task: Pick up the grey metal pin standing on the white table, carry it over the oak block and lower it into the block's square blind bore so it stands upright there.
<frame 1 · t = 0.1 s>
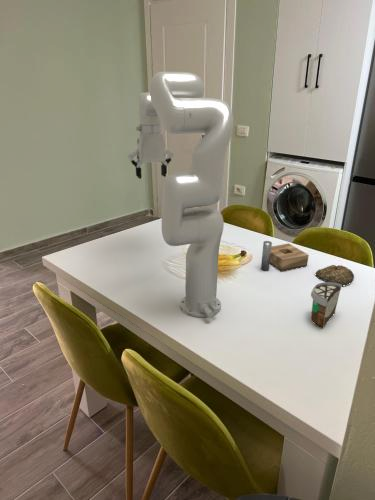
hand: (151, 176, 141), 31 cm above the table, tool pointing down, fingers open, 9 cm apart
food container: (318, 318, 111), on the table
pin: (264, 269, 140), on the table
bread roll: (335, 278, 135), on the table
bore block: (284, 262, 146), on the table
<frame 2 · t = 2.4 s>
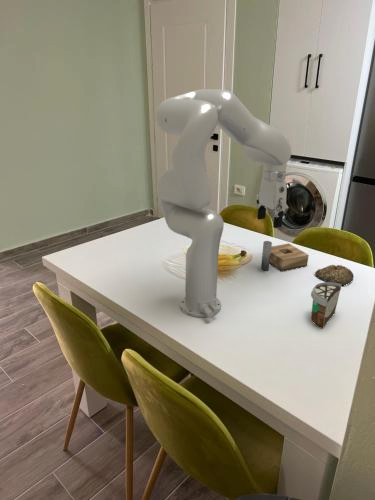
hand: (269, 222, 133), 18 cm above the table, tool pointing down, fingers open, 9 cm apart
nothing on the table moved.
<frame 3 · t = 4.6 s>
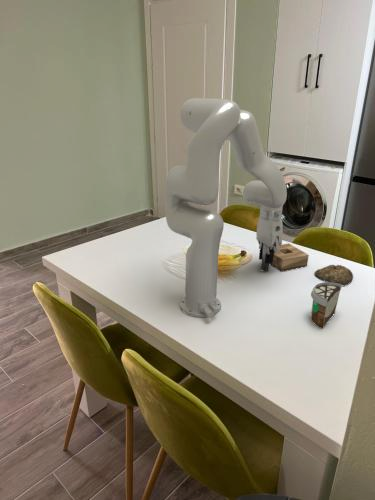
hand: (265, 260, 138), 4 cm above the table, tool pointing down, fingers closed on pin, 3 cm apart
pin: (264, 269, 140), on the table, touching gripper
everything else where it was.
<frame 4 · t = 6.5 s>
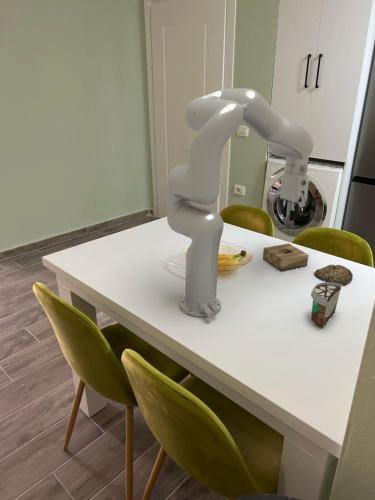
hand: (289, 218, 138), 18 cm above the table, tool pointing down, fingers closed on pin, 3 cm apart
pin: (288, 227, 140), point 15 cm above the table, touching gripper
everything else where it was.
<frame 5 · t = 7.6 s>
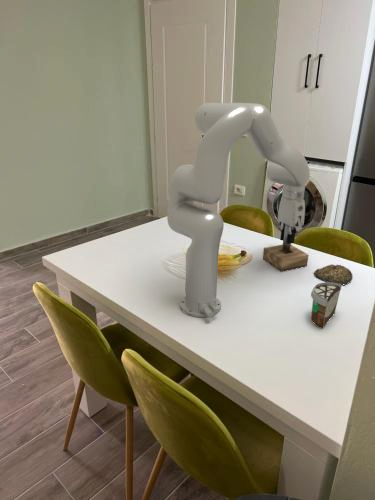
hand: (287, 241, 142), 9 cm above the table, tool pointing down, fingers closed on pin, 3 cm apart
pin: (286, 250, 143), point 6 cm above the table, touching gripper
everything else where it was.
when the fingers open (6 cm above the table, at t = 8.5 s): pin drops 1 cm, resting on bore block.
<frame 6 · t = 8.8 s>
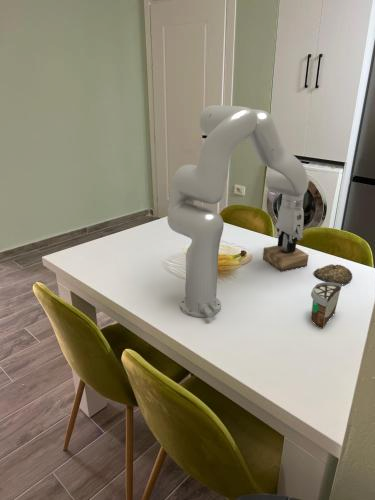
hand: (286, 248, 143), 6 cm above the table, tool pointing down, fingers open, 5 cm apart
pin: (284, 260, 145), point 1 cm above the table, touching bore block
everything else where it was.
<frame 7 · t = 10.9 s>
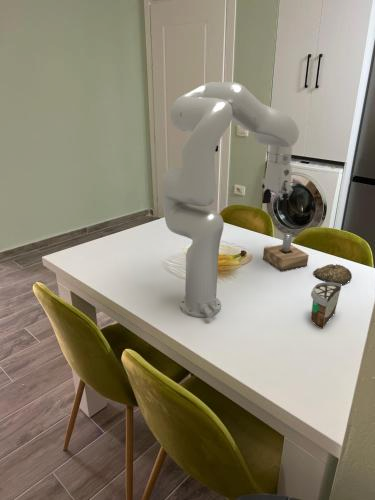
hand: (273, 206, 136), 23 cm above the table, tool pointing down, fingers open, 9 cm apart
nothing on the table moved.
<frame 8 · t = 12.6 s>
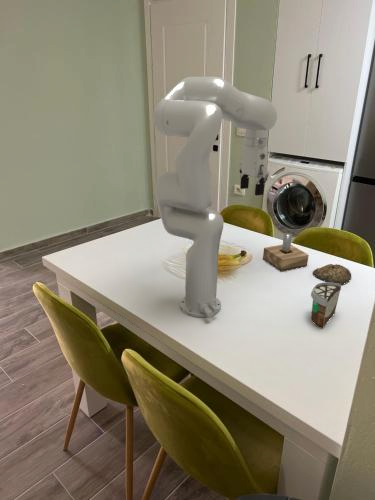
hand: (251, 191, 134), 28 cm above the table, tool pointing down, fingers open, 9 cm apart
at the end: pin 0.1 cm off-centre on the bore block, point 1.0 cm above the bore block's base; pin tilted 0°; the gripper is holding nothing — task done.
